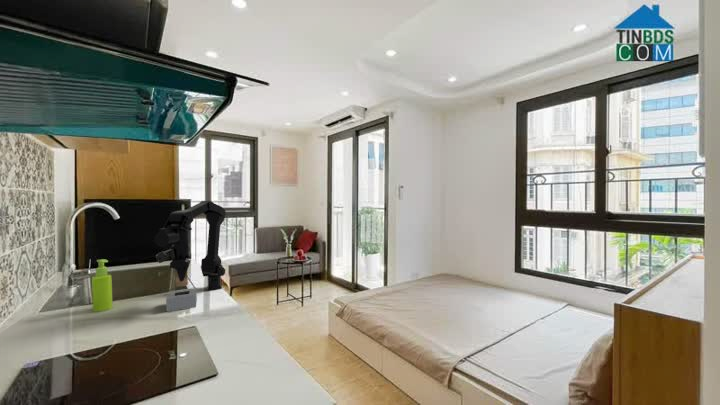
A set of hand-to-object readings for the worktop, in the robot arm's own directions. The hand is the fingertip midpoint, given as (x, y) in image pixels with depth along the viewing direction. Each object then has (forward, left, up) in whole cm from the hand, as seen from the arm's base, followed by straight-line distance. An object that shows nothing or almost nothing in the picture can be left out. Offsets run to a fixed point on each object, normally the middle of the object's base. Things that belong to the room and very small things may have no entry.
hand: (182, 280), depth 120 cm
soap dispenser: (-11, -28, -11) cm, 32 cm away
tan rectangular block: (0, 0, -2) cm, 2 cm away
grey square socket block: (0, 0, -10) cm, 10 cm away
